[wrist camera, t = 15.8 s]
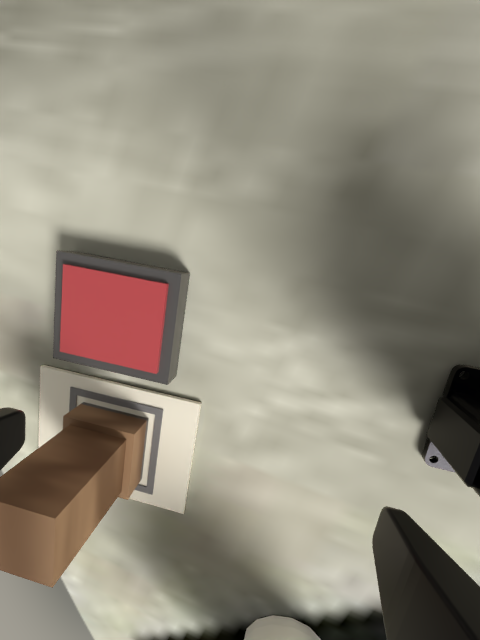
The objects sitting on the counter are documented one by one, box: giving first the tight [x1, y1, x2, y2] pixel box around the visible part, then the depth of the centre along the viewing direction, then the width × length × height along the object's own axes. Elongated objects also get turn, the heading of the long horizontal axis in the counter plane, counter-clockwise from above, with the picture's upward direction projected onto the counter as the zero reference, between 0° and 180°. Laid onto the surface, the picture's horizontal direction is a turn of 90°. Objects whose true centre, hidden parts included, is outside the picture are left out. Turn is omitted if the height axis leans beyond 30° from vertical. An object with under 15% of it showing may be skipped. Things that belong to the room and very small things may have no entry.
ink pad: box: [53, 251, 190, 385], centre depth 19 cm, size 8×7×2 cm
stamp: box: [0, 402, 149, 587], centre depth 18 cm, size 5×5×8 cm
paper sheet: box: [38, 365, 201, 514], centre depth 22 cm, size 12×9×1 cm
